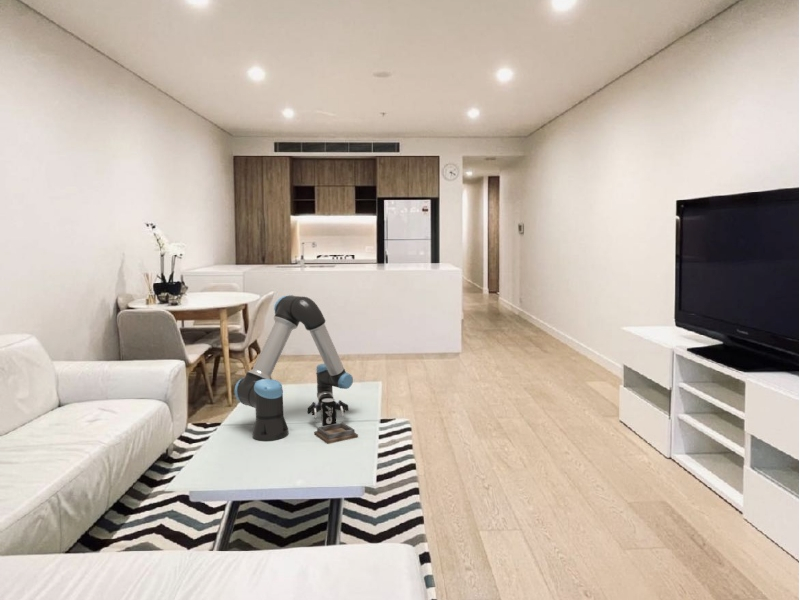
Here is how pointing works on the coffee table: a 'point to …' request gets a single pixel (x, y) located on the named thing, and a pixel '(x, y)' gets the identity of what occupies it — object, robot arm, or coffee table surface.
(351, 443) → the coffee table surface
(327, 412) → the beverage can
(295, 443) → the coffee table surface
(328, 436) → the tray
